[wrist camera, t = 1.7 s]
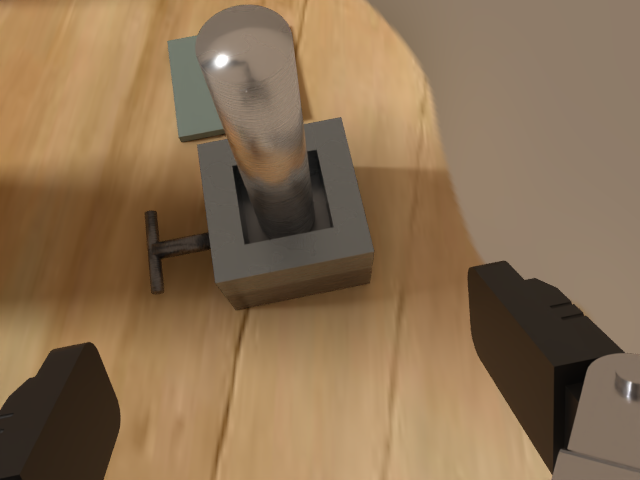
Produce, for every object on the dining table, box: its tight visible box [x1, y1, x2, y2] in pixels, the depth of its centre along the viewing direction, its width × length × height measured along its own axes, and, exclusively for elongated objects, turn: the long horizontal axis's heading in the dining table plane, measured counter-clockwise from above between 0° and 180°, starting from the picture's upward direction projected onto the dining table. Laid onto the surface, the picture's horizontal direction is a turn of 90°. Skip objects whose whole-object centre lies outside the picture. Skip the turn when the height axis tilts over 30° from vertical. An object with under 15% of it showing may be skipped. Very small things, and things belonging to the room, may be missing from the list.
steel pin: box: [195, 5, 315, 239], centre depth 25 cm, size 3×3×14 cm
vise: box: [145, 117, 374, 310], centre depth 31 cm, size 12×8×6 cm, turn 101°
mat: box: [167, 35, 225, 142], centre depth 38 cm, size 8×8×1 cm
